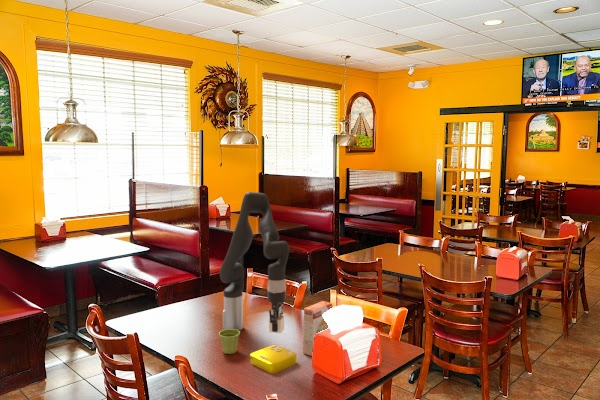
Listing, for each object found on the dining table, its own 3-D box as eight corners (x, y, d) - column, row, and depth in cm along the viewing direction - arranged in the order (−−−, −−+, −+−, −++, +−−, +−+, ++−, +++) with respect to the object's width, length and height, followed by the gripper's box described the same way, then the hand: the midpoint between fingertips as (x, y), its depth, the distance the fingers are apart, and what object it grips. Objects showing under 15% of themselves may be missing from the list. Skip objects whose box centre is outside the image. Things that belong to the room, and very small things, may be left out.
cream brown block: (269, 332, 200) (269, 318, 199) (272, 327, 205) (272, 314, 204) (281, 333, 199) (280, 319, 198) (284, 328, 204) (284, 315, 203)
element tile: (248, 363, 205) (248, 352, 205) (274, 352, 216) (274, 342, 216) (272, 375, 195) (272, 363, 194) (298, 363, 206) (298, 352, 205)
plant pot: (215, 350, 217) (214, 332, 216) (233, 345, 223) (233, 327, 222) (225, 357, 210) (225, 338, 209) (244, 352, 216) (244, 333, 215)
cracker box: (313, 357, 210) (313, 310, 208) (302, 353, 214) (302, 307, 212) (332, 347, 221) (332, 302, 219) (321, 343, 225) (322, 300, 223)
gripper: (272, 283, 207) (272, 322, 209) (262, 293, 194) (262, 334, 195) (289, 284, 206) (289, 323, 208) (280, 295, 192) (280, 336, 194)
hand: (276, 328), depth 202 cm, fingers closed on cream brown block, 5 cm apart
